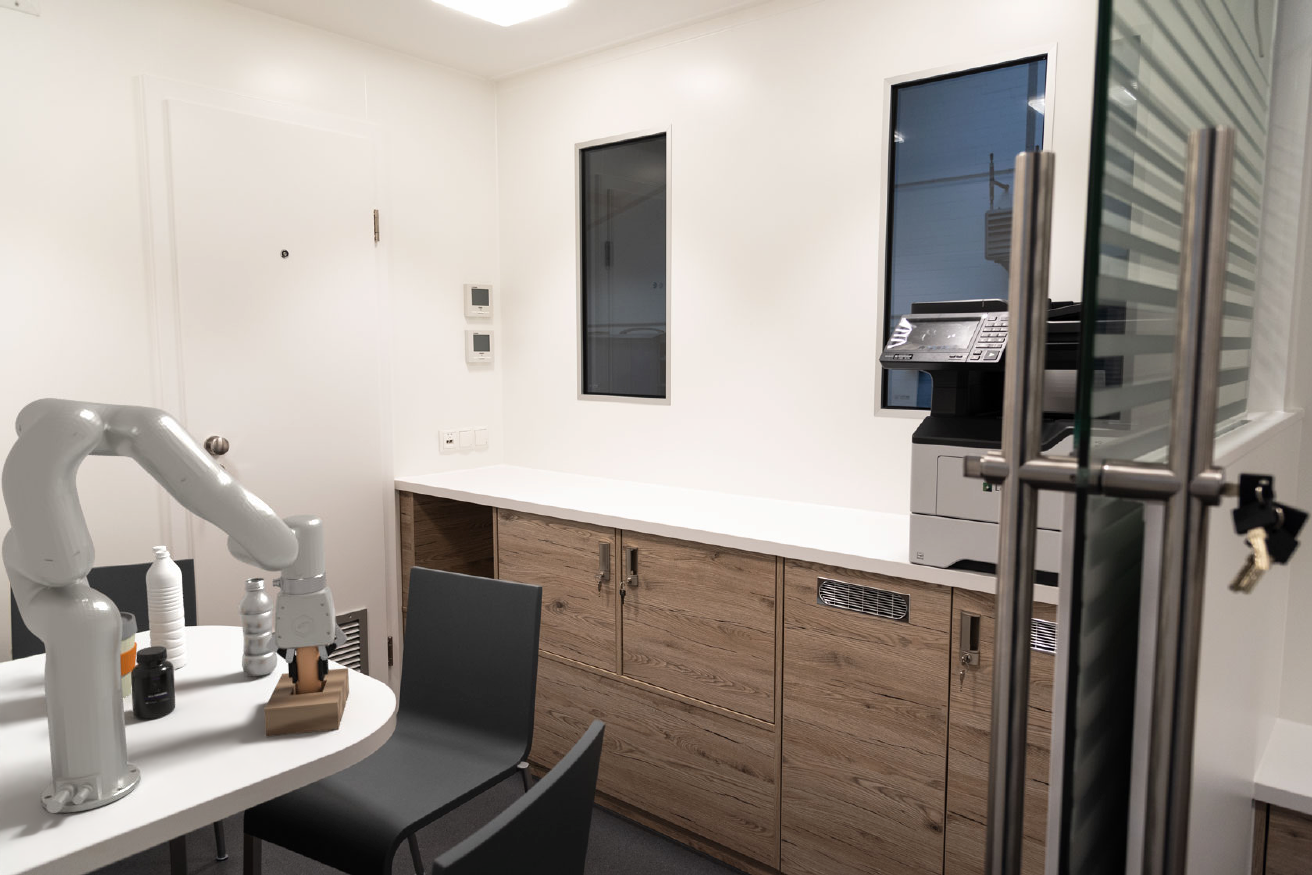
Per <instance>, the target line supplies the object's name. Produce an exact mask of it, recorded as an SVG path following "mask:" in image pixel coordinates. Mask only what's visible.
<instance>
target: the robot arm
mask: <svg viewBox="0 0 1312 875" xmlns="http://www.w3.org/2000/svg"><path fill="white" fill-rule="evenodd" d="M14 425H15V432H16V435H17V437H18V438H17V439H16V441H15V443H13V445H12V447H11V449H10V450H9V453H8V454H7V456H6V458H5V462H4V464H3V468H2V471H1V472H2V473H1V490H2V495H3V500H4V505H5V508H6V513H7V515H8V521H9V523H10V524H9V525H10V528H9V530H8V531H7V532H6V533H5V536H4V538H3V540H2V546H1V557H2V560H3V565H4V568H5V569H4V570H5V572H6V575H7V578H8V582H9V584H10V587H11V589H12V593H13V596H14V599H15V603H16V605H17V608H18V612H19V614H20V616H21V619H22V620H23V623H24V625H25V626H26V629H27V630H28V631H30V632H31V633H32V634H33V635H34V636H35V637H37V638H38V639H39V640H40V641H41V642H42V643H43V645H44V648H45V649H44V650H45V661H44V662H45V664H44V675H43V676H44V693H45V702H46V703H45V704H46V705H45V706H46V715H47V717H46V718H47V725H48V740H49V752H50V760H51V761H50V764H51V776H52V783H50V784H49V785H48V786H46V788H45V789H44V790H43V792H42V793H41V796H40V797H41V799H40V800H41V806H42V807H43V808H44V809H45V810H47V811H48V813H50V814H56V813H76V812H77V813H78V812H83V811H88V810H92V809H96V808H100V807H102V806H105V805H108V804H111V803H113V802H115V801H118V800H120V799H121V798H123V797H125V796H127V795H128V794H129V793H131V792H133V790H135V789H136V788H137V786H139V784H140V781H141V780H142V779H141V778H142V777H141V771H140V769H139V768H138V767H137V766H135V765H133V764H129V763H128V750H127V736H126V735H127V734H126V724H125V723H126V722H125V707H124V706H125V705H124V699H123V692H122V681H121V662H120V656H121V641H122V618H121V615H120V612H121V611H120V610H119V608H118V607H117V605H116V604H115V602H114V601H113V600H112V599H111V598H110V597H108V596H107V595H106V594H104V593H102V592H100V591H98V590H97V589H95V588H92V587H90V583H89V580H88V578H87V576H88V575H89V573H90V572H91V570H92V568H93V567H94V564H95V560H96V559H95V558H96V552H95V550H96V549H95V546H94V543H93V540H92V536H91V535H90V531H89V529H88V528H89V527H88V525H87V522H86V519H85V515H84V513H83V509H82V506H81V503H80V498H79V493H78V489H77V474H78V470H79V468H80V466H81V464H82V463H83V461H84V460H85V458H86V457H87V456H103V457H126V458H130V459H131V458H132V459H133V460H134V461H135V462H136V463H137V464H138V465H139V466H140V467H141V468H142V469H143V470H144V471H145V472H146V473H147V474H149V475H150V476H151V477H152V478H153V479H154V480H155V481H156V482H157V483H158V484H159V485H160V486H161V487H163V489H164V490H165V491H166V492H167V493H168V494H169V495H170V496H171V497H173V500H174V499H175V501H176V502H177V503H178V504H179V505H181V506H182V507H183V508H185V509H186V510H188V511H189V512H191V513H192V514H194V515H195V516H196V517H198V518H201V519H203V520H204V521H206V522H209V523H210V524H212V525H214V526H216V527H217V528H218V529H220V530H221V531H223V532H224V533H225V534H226V535H228V537H227V539H226V540H227V541H226V542H227V543H226V547H227V550H228V552H229V553H230V555H232V557H233V558H234V559H236V560H237V561H239V562H241V563H244V564H246V565H250V566H252V567H255V568H258V569H260V570H264V571H266V572H271V573H272V572H273V573H274V572H280V577H277V578H274V579H272V586H273V587H277V588H279V589H280V591H279V592H277V594H276V600H275V606H274V607H275V608H274V632H273V633H272V637H271V638H270V640H269V642H268V643H267V645H266V648H267V649H269V650H271V651H273V652H276V655H279V657H281V658H282V659H283V660H284V661H285V663H287V667H288V669H287V670H288V673H289V678H292V683H293V684H296V683H297V681H298V678H297V661H296V648H304V647H316V646H318V649H319V652H320V659H319V660H318V670H319V681H323V680H324V678H325V675H327V674H328V672H329V670H330V669H329V657H330V656H331V655H332V654H333V652H334V651H336V649H337V648H339V647H341V646H342V645H344V644H345V643H347V641H348V636H347V634H346V633H345V632H344V630H342V629H341V627H340V626H339V625H338V624H337V617H336V608H335V603H334V597H333V593H332V590H331V588H330V586H327V572H326V553H325V551H326V550H325V533H324V532H325V530H324V522H323V520H322V519H321V518H320V517H319V516H317V515H313V514H299V515H298V514H296V515H291V516H288V517H285V518H282V519H281V518H280V516H279V515H278V514H277V513H276V512H275V511H274V510H273V509H272V508H271V507H270V506H268V504H266V502H264V501H263V500H262V499H260V498H259V497H258V496H257V495H256V494H254V492H252V491H250V489H248V488H247V487H246V485H244V484H242V483H241V482H240V481H239V480H238V479H237V478H235V477H234V476H233V475H232V474H231V473H229V471H227V470H226V469H225V468H224V467H223V466H222V465H221V464H220V463H219V462H218V461H217V460H216V459H215V458H214V456H212V455H211V454H210V452H208V450H206V448H205V447H204V446H202V444H201V443H199V441H198V440H197V439H196V438H195V436H193V435H192V434H191V433H190V431H189V430H188V429H187V428H186V427H184V425H183V424H182V423H181V422H180V421H179V420H178V419H177V418H175V417H174V416H173V414H171V413H169V412H168V411H165V410H163V409H160V408H156V407H149V406H141V405H129V404H128V405H127V404H112V403H101V402H100V403H99V402H91V401H83V400H82V401H81V400H71V399H65V398H57V397H55V398H54V397H47V398H46V397H45V398H40V399H36V400H34V401H31V402H30V403H27V404H26V405H24V407H22V409H21V410H19V412H18V414H17V416H16V420H15V423H14ZM335 638H336V639H335Z"/></svg>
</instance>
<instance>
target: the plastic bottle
mask: <svg viewBox="0 0 1312 875" xmlns="http://www.w3.org/2000/svg"><path fill="white" fill-rule="evenodd" d="M244 586H245V587H244V591H245V592H246V593H245V594H244V596H243V597H242V598H241V600H240V601H239V604H238V613H239V617H240V622H241V627H242V633H243V635H242V637H243V654H242V658H241V667H242V671H243V673H244V674H245V675H246V676H249V677H262V676H265V675H269V674H271V673H272V672H274V671H275V669H276V667H277V664H278V657H277V653H276V652H273V651H271V650H269V649H267V648H266V645H267V643H268V642H269V640H270V638H271V637H272V635H273V615H274V600H273V598H272V597H271V596H270V594H269V593H267V592H266V590H265V589H266V587H267V586H266V579H265V578H263V577H253V578H248V579H246V580H245V582H244Z"/></svg>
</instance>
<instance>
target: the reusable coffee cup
mask: <svg viewBox="0 0 1312 875" xmlns="http://www.w3.org/2000/svg"><path fill="white" fill-rule="evenodd" d="M119 612H120V615H121V618H122V641H121V656H120V662H121V681H122V692H123V698H124V699H126V698H127V697H129V696H130V695H131V694H132V686H131V671H132V670H133V668H134V667H135V666H136V664H137V663H136V659H137V655H136V654H137V648H138V647H137V646H138V644H137V642H136V633H137V632H138V625H137V621H136V616H135V614H134V613H130V612H125V611H119ZM129 694H130V695H129ZM126 696H127V697H126ZM125 697H126V698H125Z"/></svg>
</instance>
